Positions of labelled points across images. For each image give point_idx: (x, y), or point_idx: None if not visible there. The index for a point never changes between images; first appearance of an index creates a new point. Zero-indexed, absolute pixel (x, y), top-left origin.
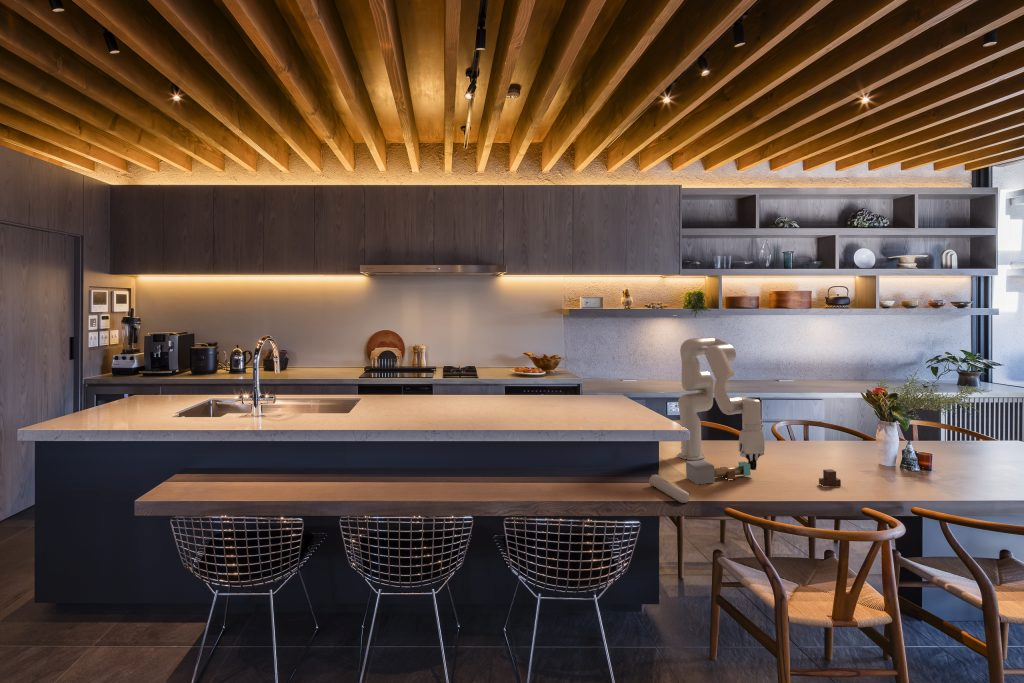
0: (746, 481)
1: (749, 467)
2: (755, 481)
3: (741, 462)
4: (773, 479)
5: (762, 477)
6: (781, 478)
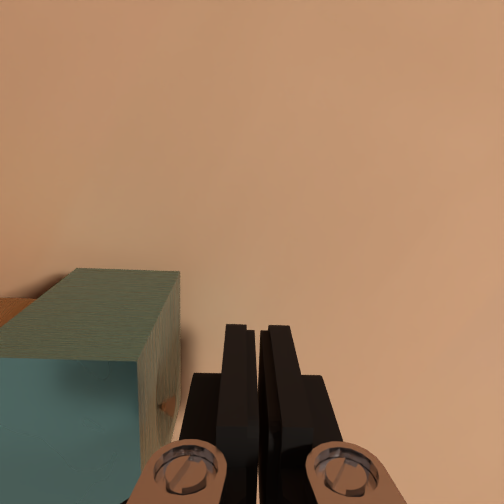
0: None
1: None
2: None
3: (14, 416)
4: None
5: None
6: (488, 488)
